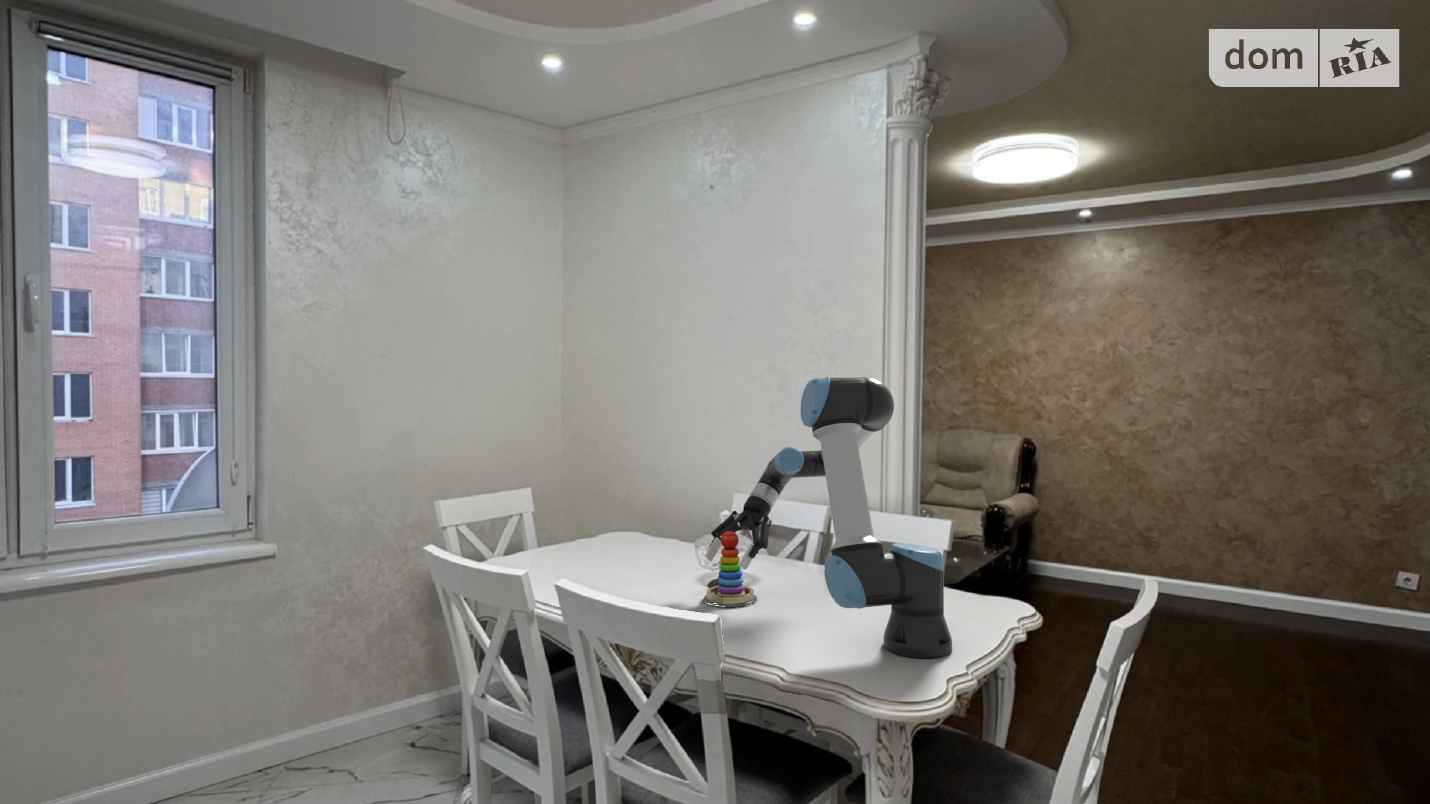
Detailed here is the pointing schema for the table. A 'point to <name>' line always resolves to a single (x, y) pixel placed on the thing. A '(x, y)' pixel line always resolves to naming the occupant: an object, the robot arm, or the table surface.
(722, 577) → the stacking toy
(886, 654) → the table surface
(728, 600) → the collar plate
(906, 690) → the table surface
